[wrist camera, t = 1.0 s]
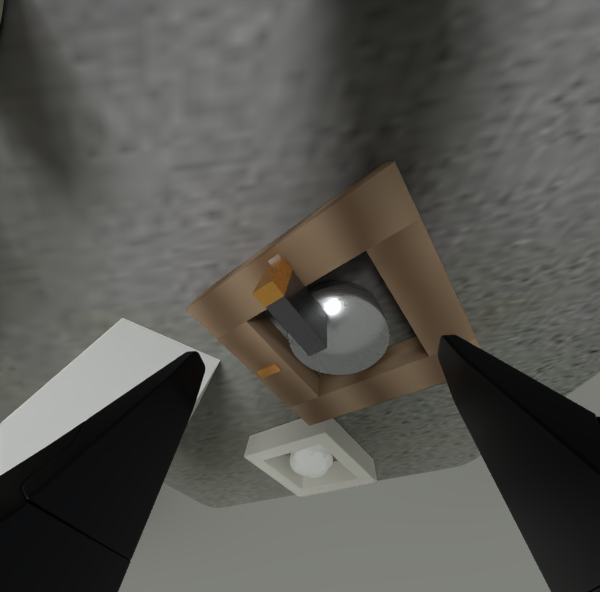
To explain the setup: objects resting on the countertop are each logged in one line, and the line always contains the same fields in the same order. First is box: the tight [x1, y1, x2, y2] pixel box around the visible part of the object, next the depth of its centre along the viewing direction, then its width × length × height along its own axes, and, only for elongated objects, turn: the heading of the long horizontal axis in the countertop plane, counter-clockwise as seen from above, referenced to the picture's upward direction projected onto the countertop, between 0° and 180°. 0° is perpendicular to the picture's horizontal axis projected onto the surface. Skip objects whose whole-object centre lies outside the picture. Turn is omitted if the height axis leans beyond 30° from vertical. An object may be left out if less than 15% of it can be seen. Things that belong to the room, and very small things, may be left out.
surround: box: [186, 161, 481, 426], centre depth 22 cm, size 20×20×3 cm
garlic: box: [290, 444, 333, 478], centre depth 34 cm, size 8×7×4 cm
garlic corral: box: [244, 418, 377, 497], centre depth 35 cm, size 14×14×3 cm
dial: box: [252, 257, 390, 375], centre depth 19 cm, size 14×9×7 cm, turn 36°
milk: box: [0, 318, 220, 475], centre depth 19 cm, size 12×12×26 cm
